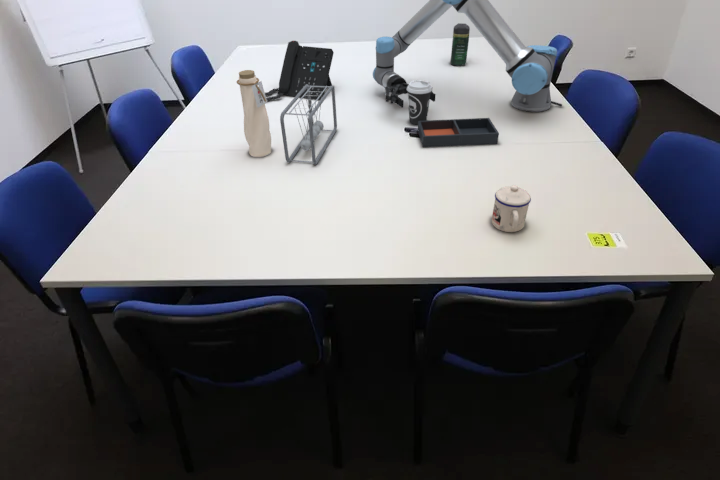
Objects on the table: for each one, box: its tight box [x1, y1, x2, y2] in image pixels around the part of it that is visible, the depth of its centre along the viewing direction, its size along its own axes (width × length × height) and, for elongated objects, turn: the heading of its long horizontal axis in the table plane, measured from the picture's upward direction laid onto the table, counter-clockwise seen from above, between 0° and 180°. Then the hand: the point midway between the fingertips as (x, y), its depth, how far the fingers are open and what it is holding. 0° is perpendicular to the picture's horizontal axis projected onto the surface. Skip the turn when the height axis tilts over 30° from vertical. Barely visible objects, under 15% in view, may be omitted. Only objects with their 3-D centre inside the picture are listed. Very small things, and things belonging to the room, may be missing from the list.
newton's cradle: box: [279, 84, 338, 166], centre depth 164 cm, size 30×10×18 cm, turn 168°
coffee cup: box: [407, 79, 433, 127], centre depth 179 cm, size 10×10×15 cm
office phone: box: [265, 40, 334, 102], centre depth 206 cm, size 29×28×20 cm
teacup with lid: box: [491, 184, 532, 233], centre depth 124 cm, size 12×9×12 cm
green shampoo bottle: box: [450, 22, 471, 67], centre depth 234 cm, size 10×8×19 cm
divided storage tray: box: [417, 117, 500, 148], centre depth 171 cm, size 26×14×4 cm, turn 92°
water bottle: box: [236, 69, 272, 158], centre depth 159 cm, size 10×9×28 cm
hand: (418, 101), depth 179 cm, fingers open, 13 cm apart
